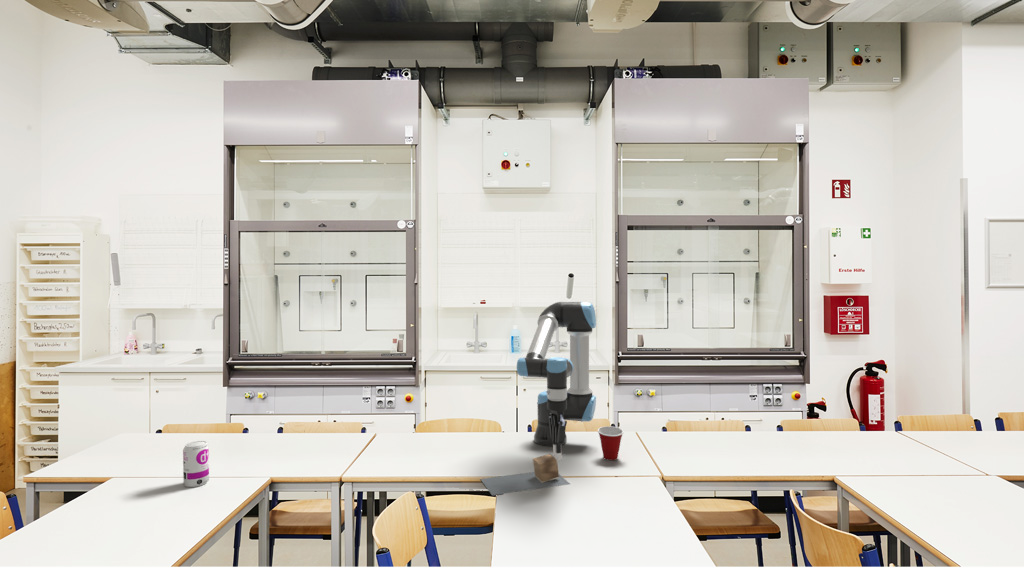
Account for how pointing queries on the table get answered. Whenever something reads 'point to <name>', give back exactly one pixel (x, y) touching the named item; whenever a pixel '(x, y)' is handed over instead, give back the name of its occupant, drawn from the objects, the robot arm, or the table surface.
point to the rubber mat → (519, 483)
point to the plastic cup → (610, 441)
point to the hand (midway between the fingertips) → (557, 460)
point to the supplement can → (196, 464)
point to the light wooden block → (546, 468)
